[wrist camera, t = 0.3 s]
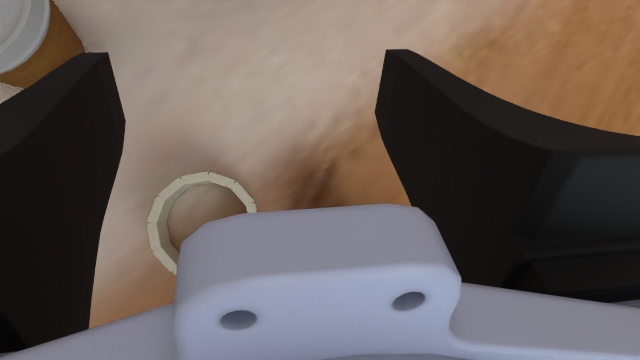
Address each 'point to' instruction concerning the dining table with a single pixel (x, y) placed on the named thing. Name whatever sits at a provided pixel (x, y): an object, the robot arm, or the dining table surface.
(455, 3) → the dining table surface
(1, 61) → the disposable coffee cup
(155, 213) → the ivory ring
